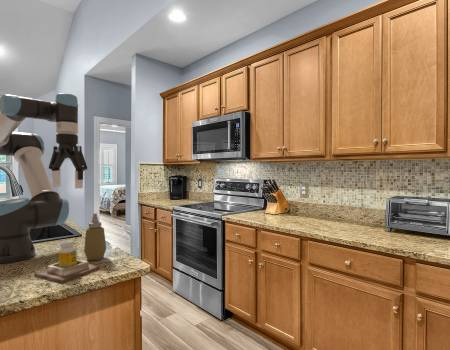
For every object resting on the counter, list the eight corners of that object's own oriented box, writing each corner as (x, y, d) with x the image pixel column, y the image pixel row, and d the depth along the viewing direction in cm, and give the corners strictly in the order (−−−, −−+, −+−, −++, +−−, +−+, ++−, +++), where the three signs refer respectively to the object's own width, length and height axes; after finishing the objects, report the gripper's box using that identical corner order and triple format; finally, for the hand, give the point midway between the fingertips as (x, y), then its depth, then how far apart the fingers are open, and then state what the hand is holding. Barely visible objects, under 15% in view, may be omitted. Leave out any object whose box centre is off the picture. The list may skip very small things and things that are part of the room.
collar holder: (34, 276, 93) (34, 267, 93) (73, 263, 106) (73, 255, 106) (62, 283, 87) (62, 273, 87) (99, 268, 100) (99, 260, 100)
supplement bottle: (62, 267, 99) (61, 240, 99) (79, 265, 100) (78, 239, 100) (56, 272, 94) (55, 244, 93) (73, 271, 95) (72, 243, 94)
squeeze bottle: (97, 262, 107) (97, 215, 106) (79, 261, 108) (78, 214, 108) (110, 256, 115) (110, 212, 114) (93, 254, 116) (92, 211, 116)
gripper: (38, 134, 113) (38, 186, 114) (79, 131, 102) (79, 189, 103) (56, 136, 120) (57, 185, 120) (97, 133, 109) (97, 188, 109)
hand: (67, 187), depth 112 cm, fingers open, 13 cm apart
